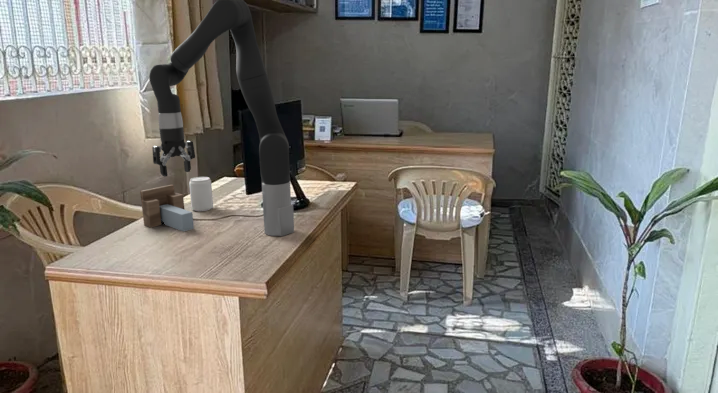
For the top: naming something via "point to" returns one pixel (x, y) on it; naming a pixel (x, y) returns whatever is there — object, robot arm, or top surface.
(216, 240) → the top surface
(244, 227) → the top surface
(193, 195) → the beverage can
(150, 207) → the headboard
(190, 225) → the grey rectangular block
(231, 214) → the top surface
